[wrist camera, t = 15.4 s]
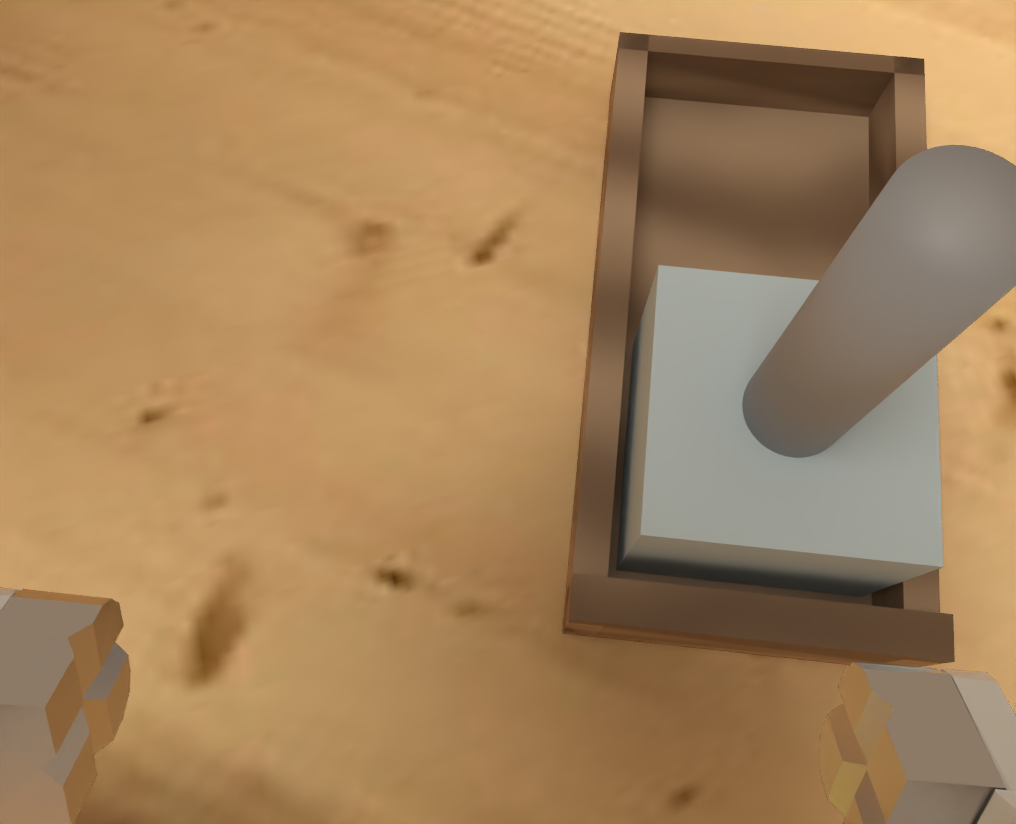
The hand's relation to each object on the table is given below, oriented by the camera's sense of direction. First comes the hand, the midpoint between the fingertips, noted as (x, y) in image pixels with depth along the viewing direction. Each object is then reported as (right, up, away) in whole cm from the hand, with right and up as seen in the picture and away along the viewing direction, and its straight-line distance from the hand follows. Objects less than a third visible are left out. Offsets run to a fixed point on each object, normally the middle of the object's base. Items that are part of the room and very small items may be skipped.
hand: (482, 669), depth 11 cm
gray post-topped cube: (+9, +1, +26) cm, 28 cm away
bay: (+10, +5, +29) cm, 31 cm away
